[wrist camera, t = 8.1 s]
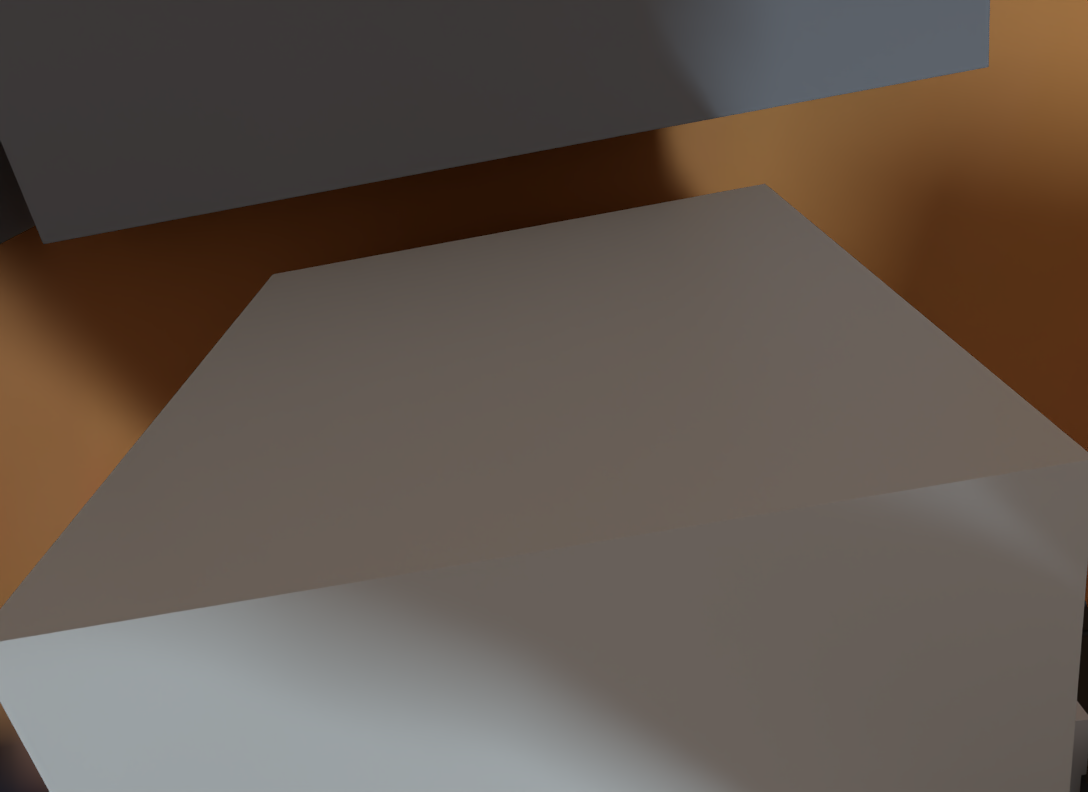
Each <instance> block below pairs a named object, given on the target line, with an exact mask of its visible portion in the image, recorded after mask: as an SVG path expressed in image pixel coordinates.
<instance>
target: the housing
mask: <svg viewBox="0 0 1088 792" xmlns="http://www.w3.org/2000/svg"><path fill="white" fill-rule="evenodd" d="M1087 565H1088V452H1087V451H1086V450H1085V449H1084V448H1082V447H1081V446H1080V445H1079V444H1078V443H1076V442H1075V441H1074V440H1073V439H1072V438H1070V437H1069V436H1068V435H1067V434H1066V433H1064V432H1063V431H1062V430H1061V429H1060V428H1058V427H1057V426H1056V425H1055V424H1053V423H1052V422H1051V421H1050V420H1049V419H1047V418H1046V417H1045V416H1044V415H1043V414H1041V413H1040V412H1039V411H1038V410H1037V409H1035V408H1034V407H1033V406H1032V405H1031V404H1029V403H1028V402H1027V401H1026V400H1025V399H1023V398H1022V397H1021V396H1020V395H1019V394H1017V393H1016V392H1015V391H1014V390H1013V389H1011V388H1010V387H1009V386H1008V385H1007V384H1005V383H1004V382H1003V381H1002V380H1001V379H999V378H998V377H997V376H996V375H995V374H993V373H992V372H991V371H990V370H989V369H987V368H986V367H985V366H984V365H982V364H981V363H980V362H979V361H978V360H976V359H975V358H974V357H973V356H972V355H970V354H969V353H968V352H967V351H966V350H964V349H963V348H962V347H961V346H960V345H958V344H957V343H956V342H955V341H954V340H952V339H951V338H950V337H949V336H948V335H946V334H945V333H944V332H943V331H942V330H940V329H939V328H938V327H937V326H936V325H934V324H933V323H932V322H931V321H930V320H928V319H927V318H926V317H925V316H924V315H922V314H921V313H920V312H919V311H918V310H916V309H915V308H914V307H913V306H911V305H910V304H909V303H908V302H907V301H905V300H904V299H903V298H902V297H901V296H899V295H898V294H897V293H896V292H895V291H893V290H892V289H891V288H890V287H889V286H887V285H886V284H885V283H884V282H883V281H881V280H880V279H879V278H878V277H877V276H875V275H874V274H873V273H872V272H871V271H869V270H868V269H867V268H866V267H865V266H863V265H862V264H861V263H860V262H859V261H857V260H856V259H855V258H854V257H853V256H851V255H850V254H849V253H848V252H847V251H845V250H844V249H843V248H842V247H840V246H839V245H838V244H837V243H836V242H834V241H833V240H832V239H831V238H830V237H828V236H827V235H826V234H825V233H824V232H822V231H821V230H820V229H819V228H818V227H816V226H815V225H814V224H813V223H812V222H810V221H809V220H808V219H807V218H806V217H804V216H803V215H802V214H801V213H800V212H798V211H797V210H796V209H795V208H794V207H792V206H791V205H790V204H789V203H788V202H786V201H785V200H784V199H783V198H782V197H780V196H779V195H778V194H777V193H776V192H774V191H773V190H772V189H771V188H769V187H768V186H767V185H766V184H762V185H756V186H751V187H745V188H740V189H734V190H729V191H724V192H718V193H713V194H707V195H702V196H696V197H691V198H685V199H680V200H675V201H669V202H664V203H658V204H653V205H647V206H642V207H636V208H631V209H626V210H620V211H615V212H609V213H604V214H598V215H593V216H588V217H582V218H577V219H571V220H566V221H560V222H555V223H549V224H544V225H539V226H533V227H528V228H522V229H517V230H511V231H506V232H500V233H495V234H490V235H484V236H479V237H473V238H468V239H462V240H457V241H452V242H446V243H441V244H435V245H430V246H424V247H419V248H413V249H408V250H403V251H397V252H392V253H386V254H381V255H375V256H370V257H364V258H359V259H354V260H348V261H343V262H337V263H332V264H326V265H321V266H316V267H310V268H305V269H299V270H294V271H288V272H283V273H277V274H273V275H272V276H271V277H270V278H269V280H268V281H267V282H266V283H265V285H264V286H263V287H262V288H261V289H260V291H259V292H258V293H257V294H256V296H255V297H254V298H253V299H252V301H251V302H250V303H249V304H248V305H247V307H246V308H245V309H244V310H243V312H242V313H241V314H240V315H239V317H238V318H237V319H236V320H235V321H234V323H233V324H232V325H231V326H230V328H229V329H228V330H227V331H226V332H225V334H224V335H223V336H222V337H221V339H220V340H219V341H218V342H217V344H216V345H215V346H214V347H213V348H212V350H211V351H210V352H209V353H208V355H207V356H206V357H205V358H204V360H203V361H202V362H201V363H200V364H199V366H198V367H197V368H196V369H195V371H194V372H193V373H192V374H191V375H190V377H189V378H188V379H187V380H186V382H185V383H184V384H183V385H182V387H181V388H180V389H179V390H178V391H177V393H176V394H175V395H174V396H173V398H172V399H171V400H170V401H169V402H168V404H167V405H166V406H165V407H164V409H163V410H162V411H161V412H160V414H159V415H158V416H157V417H156V418H155V420H154V421H153V422H152V423H151V425H150V426H149V427H148V428H147V430H146V431H145V432H144V433H143V434H142V436H141V437H140V438H139V439H138V441H137V442H136V443H135V444H134V445H133V447H132V448H131V449H130V450H129V452H128V453H127V454H126V455H125V457H124V458H123V459H122V460H121V461H120V463H119V464H118V465H117V466H116V468H115V469H114V470H113V471H112V473H111V474H110V475H109V476H108V477H107V479H106V480H105V481H104V482H103V484H102V485H101V486H100V487H99V488H98V490H97V491H96V492H95V493H94V495H93V496H92V497H91V498H90V500H89V501H88V502H87V503H86V504H85V506H84V507H83V508H82V509H81V511H80V512H79V513H78V514H77V515H76V517H75V518H74V519H73V520H72V522H71V523H70V524H69V525H68V527H67V528H66V529H65V530H64V531H63V533H62V534H61V535H60V536H59V538H58V539H57V540H56V541H55V543H54V544H53V545H52V546H51V547H50V549H49V550H48V551H47V552H46V554H45V555H44V556H43V557H42V558H41V560H40V561H39V562H38V563H37V565H36V566H35V567H34V568H33V570H32V571H31V572H30V573H29V574H28V576H27V577H26V578H25V579H24V581H23V582H22V583H21V584H20V586H19V587H18V588H17V589H16V590H15V592H14V593H13V594H12V595H11V597H10V598H9V599H8V600H7V601H6V603H5V604H4V605H3V606H2V608H1V609H0V702H1V704H2V706H3V708H4V710H5V711H6V713H7V715H8V717H9V719H10V721H11V722H12V724H13V726H14V728H15V730H16V731H17V733H18V735H19V737H20V739H21V741H22V742H23V744H24V746H25V748H26V750H27V751H28V753H29V755H30V757H31V759H32V761H33V762H34V764H35V766H36V768H37V770H38V771H39V773H40V775H41V777H42V779H43V781H44V782H45V784H46V786H47V788H48V790H49V792H1070V781H1071V769H1072V756H1073V743H1074V730H1075V718H1076V705H1077V692H1078V679H1079V667H1080V654H1081V641H1082V628H1083V616H1084V603H1085V590H1086V578H1087Z"/></svg>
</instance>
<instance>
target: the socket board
mask: <svg viewBox="0 0 1088 792" xmlns="http://www.w3.org/2000/svg"><path fill="white" fill-rule="evenodd" d="M33 226H35V223H34V220H33V218H32V216H31V213H30V211H29V208H28V206H27V203H26V201H25V199H24V196H23V194H22V191H21V189H20V187H19V184H18V182H17V179H16V177H15V174H14V172H13V170H12V167H11V165H10V162H9V160H8V158H7V155H6V153H5V150H4V148H3V145H2V143H1V141H0V244H1V243H3V242H5V241H6V240H8V239H10V238H12V237H14V236H16V235H18V234H20V233H22V232H24V231H26V230H28V229H30V228H32V227H33Z"/></svg>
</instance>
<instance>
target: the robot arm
mask: <svg viewBox="0 0 1088 792" xmlns="http://www.w3.org/2000/svg"><path fill="white" fill-rule="evenodd" d="M1070 792H1088V607H1087V605H1086V601H1085V603H1084V616H1083V628H1082V641H1081V654H1080V667H1079V679H1078V692H1077V705H1076V718H1075V730H1074V743H1073V756H1072V769H1071V781H1070Z"/></svg>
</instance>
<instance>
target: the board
mask: <svg viewBox="0 0 1088 792" xmlns="http://www.w3.org/2000/svg"><path fill="white" fill-rule="evenodd" d="M989 16H990V0H0V141H1V143H2V145H3V148H4V150H5V153H6V155H7V158H8V160H9V162H10V165H11V167H12V170H13V172H14V174H15V177H16V179H17V182H18V184H19V187H20V189H21V191H22V194H23V196H24V199H25V201H26V203H27V206H28V208H29V211H30V213H31V216H32V218H33V220H34V223H35V225H36V228H37V230H38V232H39V235H40V237H41V240H42V242H43V244H47V243H52V242H58V241H63V240H68V239H74V238H79V237H84V236H90V235H95V234H100V233H106V232H111V231H116V230H122V229H127V228H132V227H138V226H143V225H148V224H153V223H159V222H164V221H169V220H175V219H180V218H185V217H191V216H196V215H201V214H207V213H212V212H217V211H223V210H228V209H233V208H239V207H244V206H249V205H255V204H260V203H265V202H271V201H276V200H281V199H287V198H292V197H297V196H303V195H308V194H313V193H319V192H324V191H329V190H335V189H340V188H345V187H351V186H356V185H361V184H367V183H372V182H377V181H383V180H388V179H393V178H399V177H404V176H409V175H415V174H420V173H425V172H431V171H436V170H441V169H447V168H452V167H457V166H463V165H468V164H473V163H479V162H484V161H489V160H495V159H500V158H505V157H511V156H516V155H521V154H527V153H532V152H537V151H543V150H548V149H553V148H559V147H564V146H569V145H575V144H580V143H585V142H591V141H596V140H601V139H606V138H612V137H617V136H622V135H628V134H633V133H638V132H644V131H649V130H654V129H660V128H665V127H670V126H676V125H681V124H686V123H692V122H697V121H702V120H708V119H713V118H718V117H724V116H729V115H734V114H740V113H745V112H750V111H756V110H761V109H766V108H772V107H777V106H782V105H788V104H793V103H798V102H804V101H809V100H814V99H820V98H825V97H830V96H836V95H841V94H846V93H852V92H857V91H862V90H868V89H873V88H878V87H884V86H889V85H894V84H900V83H905V82H910V81H916V80H921V79H926V78H932V77H937V76H942V75H948V74H953V73H958V72H964V71H969V70H974V69H980V68H985V67H989Z"/></svg>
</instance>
